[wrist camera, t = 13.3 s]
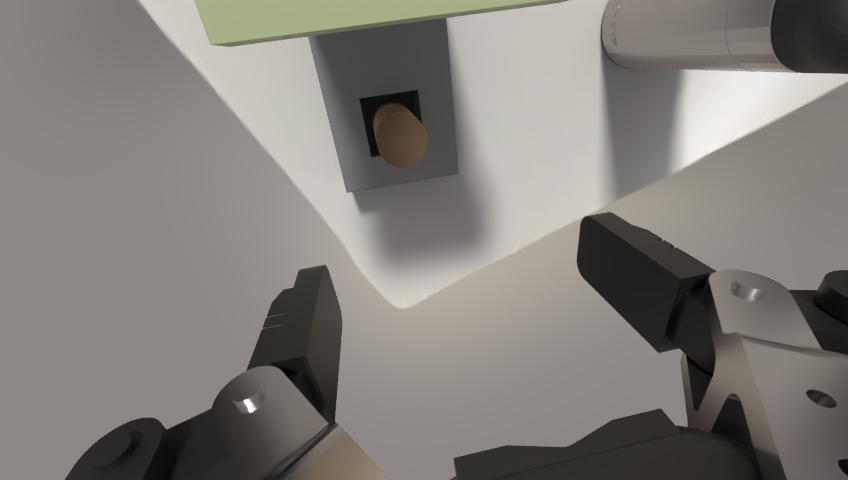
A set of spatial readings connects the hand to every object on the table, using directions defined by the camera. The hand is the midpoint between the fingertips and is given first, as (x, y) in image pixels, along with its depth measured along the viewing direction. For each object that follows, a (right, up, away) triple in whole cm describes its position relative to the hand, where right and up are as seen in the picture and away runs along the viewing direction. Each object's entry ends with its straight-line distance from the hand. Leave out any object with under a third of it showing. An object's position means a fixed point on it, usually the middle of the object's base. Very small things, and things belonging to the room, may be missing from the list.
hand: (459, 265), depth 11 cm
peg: (-5, +14, +26) cm, 30 cm away
